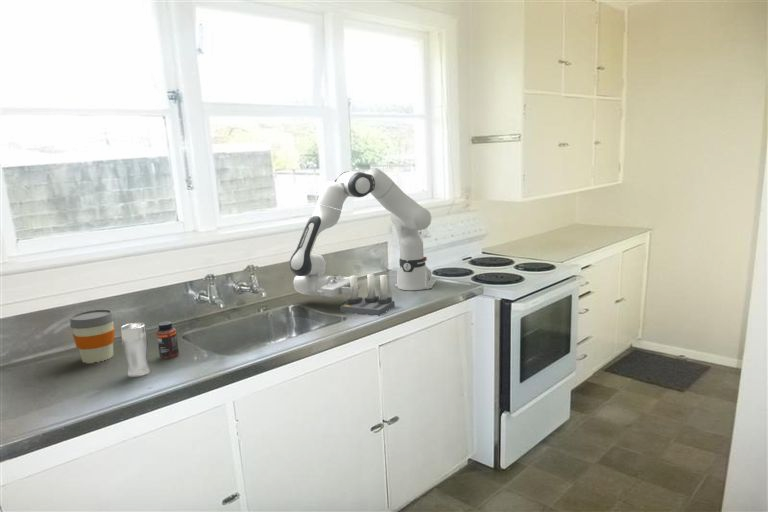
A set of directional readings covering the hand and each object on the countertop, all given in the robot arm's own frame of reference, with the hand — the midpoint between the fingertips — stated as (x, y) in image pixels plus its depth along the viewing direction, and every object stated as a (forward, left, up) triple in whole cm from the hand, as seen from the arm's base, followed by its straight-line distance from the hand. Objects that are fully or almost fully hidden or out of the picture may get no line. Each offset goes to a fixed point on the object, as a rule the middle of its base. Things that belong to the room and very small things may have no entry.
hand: (355, 288), depth 216 cm
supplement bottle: (+69, -32, -9) cm, 77 cm away
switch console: (0, +5, -9) cm, 10 cm away
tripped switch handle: (0, -1, -6) cm, 6 cm away
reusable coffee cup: (+79, -54, -9) cm, 96 cm away
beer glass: (+83, -29, -9) cm, 88 cm away
